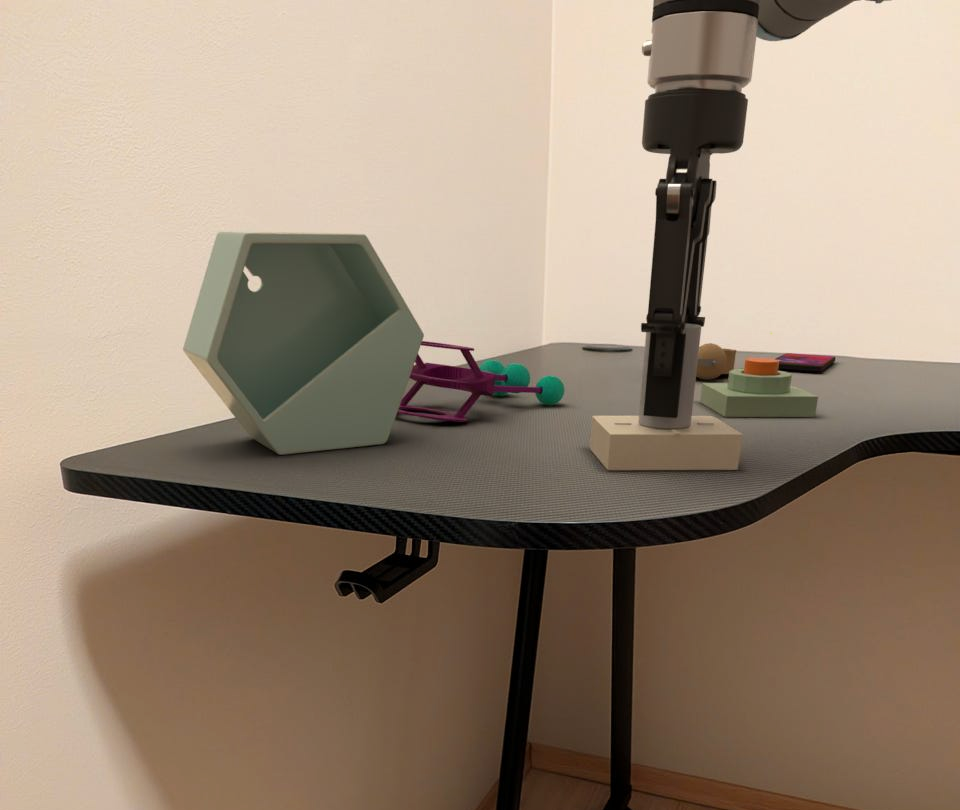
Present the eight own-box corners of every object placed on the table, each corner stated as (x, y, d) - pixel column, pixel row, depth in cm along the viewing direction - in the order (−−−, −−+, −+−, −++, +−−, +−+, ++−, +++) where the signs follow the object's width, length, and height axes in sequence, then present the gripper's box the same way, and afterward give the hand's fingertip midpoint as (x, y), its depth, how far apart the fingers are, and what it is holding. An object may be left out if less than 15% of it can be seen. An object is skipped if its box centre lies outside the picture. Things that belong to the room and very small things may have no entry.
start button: (769, 374, 102) (772, 357, 101) (781, 378, 99) (784, 362, 98) (738, 373, 102) (740, 357, 101) (749, 378, 98) (751, 362, 98)
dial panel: (707, 448, 83) (712, 413, 82) (739, 471, 75) (744, 432, 74) (589, 448, 82) (591, 413, 81) (608, 471, 74) (611, 432, 73)
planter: (315, 502, 81) (159, 299, 68) (286, 482, 87) (137, 292, 75) (454, 385, 84) (328, 169, 71) (416, 373, 90) (294, 173, 77)
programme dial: (644, 417, 80) (652, 317, 76) (694, 421, 79) (705, 320, 75) (633, 426, 76) (642, 321, 73) (685, 430, 75) (697, 324, 71)
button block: (783, 402, 106) (789, 367, 104) (815, 417, 98) (821, 379, 96) (700, 402, 105) (704, 366, 104) (724, 417, 97) (729, 378, 96)
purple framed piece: (569, 421, 102) (578, 356, 100) (439, 421, 89) (445, 346, 86) (492, 406, 110) (498, 345, 108) (361, 404, 97) (365, 335, 94)
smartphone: (837, 356, 140) (822, 366, 128) (835, 362, 140) (821, 372, 128) (785, 352, 143) (766, 362, 131) (784, 358, 143) (765, 368, 131)
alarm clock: (741, 349, 129) (728, 339, 115) (736, 385, 130) (723, 380, 116) (663, 344, 132) (641, 334, 119) (658, 379, 134) (637, 374, 120)
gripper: (665, 107, 76) (641, 392, 86) (622, 75, 61) (598, 425, 71) (758, 104, 74) (722, 398, 83) (737, 71, 59) (696, 434, 68)
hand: (665, 410), depth 77 cm, fingers closed on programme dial, 4 cm apart
